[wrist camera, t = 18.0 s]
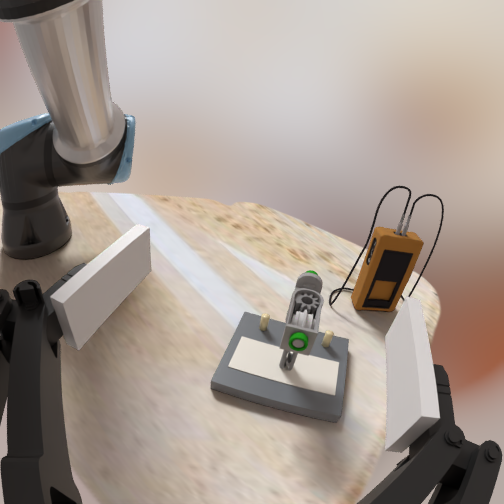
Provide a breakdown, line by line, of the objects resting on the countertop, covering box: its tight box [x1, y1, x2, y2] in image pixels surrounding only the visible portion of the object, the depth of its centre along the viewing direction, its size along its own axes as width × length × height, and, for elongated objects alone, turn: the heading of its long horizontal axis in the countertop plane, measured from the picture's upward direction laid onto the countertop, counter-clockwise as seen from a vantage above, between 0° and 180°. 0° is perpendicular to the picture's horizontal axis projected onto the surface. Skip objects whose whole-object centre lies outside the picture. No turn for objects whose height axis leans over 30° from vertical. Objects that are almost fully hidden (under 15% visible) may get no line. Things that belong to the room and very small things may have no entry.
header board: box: [211, 312, 349, 423], centre depth 35 cm, size 14×12×4 cm
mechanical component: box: [279, 271, 324, 370], centre depth 31 cm, size 3×10×10 cm, turn 165°
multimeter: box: [329, 186, 444, 312], centre depth 46 cm, size 15×10×20 cm
